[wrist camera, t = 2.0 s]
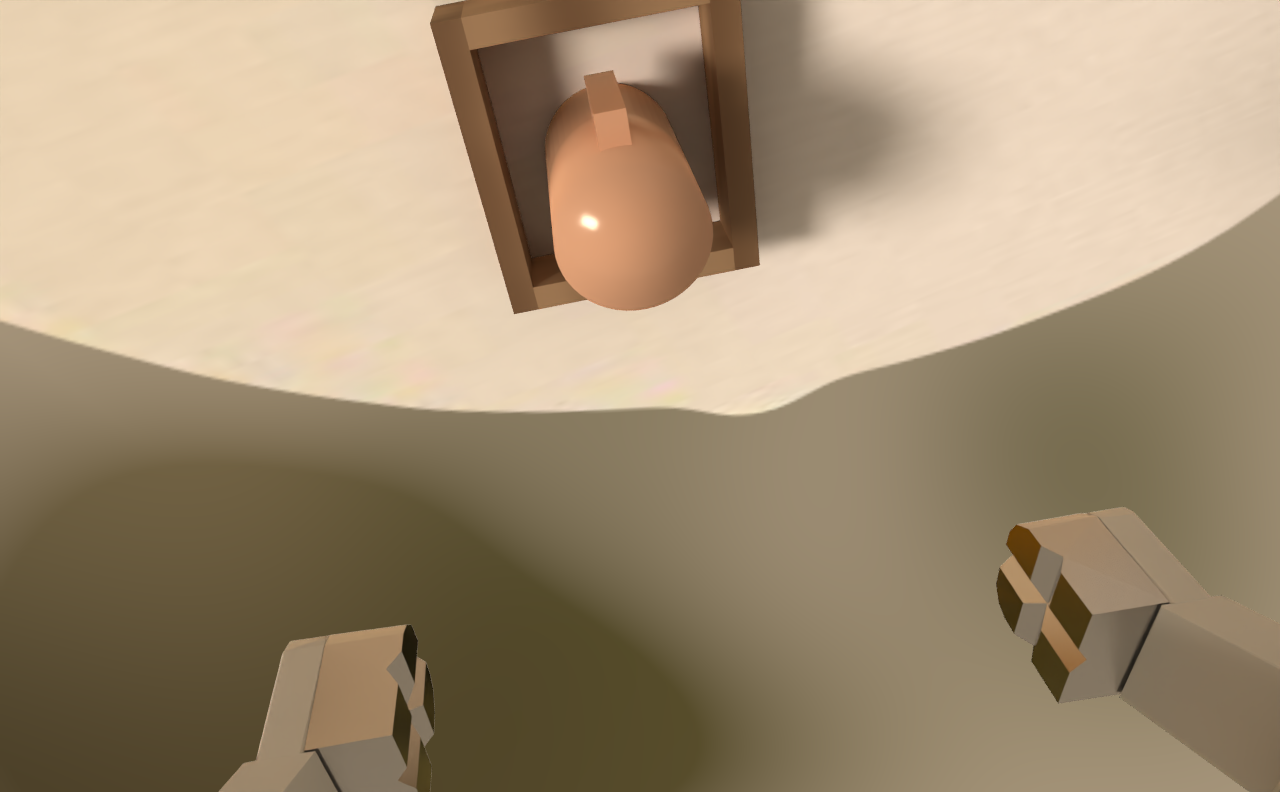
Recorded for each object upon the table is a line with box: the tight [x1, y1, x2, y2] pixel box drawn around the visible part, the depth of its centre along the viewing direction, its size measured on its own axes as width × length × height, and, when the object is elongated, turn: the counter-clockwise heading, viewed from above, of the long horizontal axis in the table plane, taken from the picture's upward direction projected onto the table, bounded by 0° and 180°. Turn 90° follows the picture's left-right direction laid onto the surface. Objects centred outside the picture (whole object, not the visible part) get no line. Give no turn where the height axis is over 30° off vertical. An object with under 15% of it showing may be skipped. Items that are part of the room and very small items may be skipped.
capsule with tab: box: [545, 70, 713, 311], centre depth 29 cm, size 5×6×8 cm
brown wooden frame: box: [430, 0, 760, 314], centre depth 31 cm, size 10×11×2 cm
